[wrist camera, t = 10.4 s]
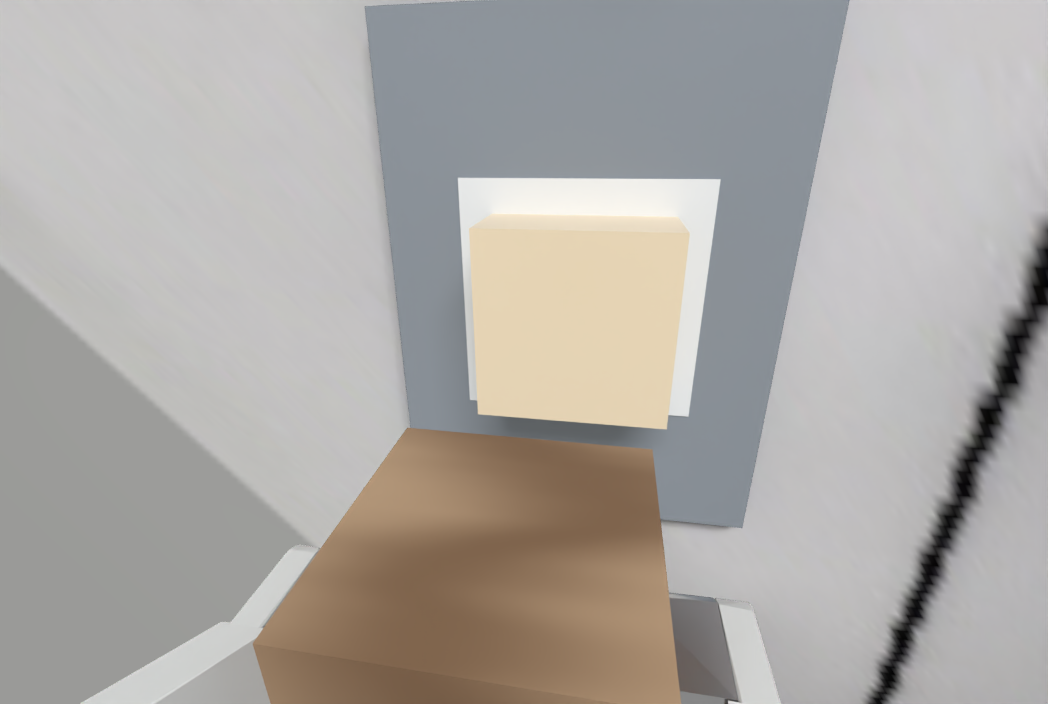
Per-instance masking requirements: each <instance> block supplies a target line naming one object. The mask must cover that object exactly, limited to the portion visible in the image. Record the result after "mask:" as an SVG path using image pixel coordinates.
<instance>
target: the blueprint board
mask: <svg viewBox="0 0 1048 704" xmlns="http://www.w3.org/2000/svg"><path fill="white" fill-rule="evenodd" d="M848 5H849V0H480V1H460V2H440V3H420V4H400V5H380V6H365V13H366V22H367V32H368V41H369V50H370V59H371V68H372V78H373V87H374V96H375V105H376V114H377V124H378V133H379V142H380V151H381V160H382V170H383V179H384V188H385V197H386V206H387V216H388V225H389V234H390V243H391V252H392V262H393V271H394V280H395V289H396V298H397V308H398V317H399V326H400V335H401V344H402V354H403V363H404V372H405V381H406V390H407V400H408V409H409V418H410V427H411V428H417V429H428V430H439V431H451V432H462V433H473V434H485V435H496V436H507V437H519V438H530V439H541V440H552V441H564V442H575V443H586V444H598V445H609V446H620V447H632V448H643V449H653V458H654V467H655V476H656V485H657V494H658V503H659V511H660V519H663V520H672V521H681V522H691V523H700V524H709V525H718V526H728V527H737V528H742V526H743V521H744V516H745V512H746V507H747V502H748V497H749V492H750V487H751V482H752V477H753V472H754V467H755V462H756V457H757V452H758V448H759V443H760V438H761V433H762V428H763V423H764V418H765V413H766V408H767V403H768V398H769V393H770V389H771V384H772V379H773V374H774V369H775V364H776V359H777V354H778V349H779V344H780V339H781V334H782V329H783V325H784V320H785V315H786V310H787V305H788V300H789V295H790V290H791V285H792V280H793V275H794V270H795V265H796V261H797V256H798V251H799V246H800V241H801V236H802V231H803V226H804V221H805V216H806V211H807V206H808V201H809V197H810V192H811V187H812V182H813V177H814V172H815V167H816V162H817V157H818V152H819V147H820V142H821V138H822V133H823V128H824V123H825V118H826V113H827V108H828V103H829V98H830V93H831V88H832V83H833V78H834V74H835V69H836V64H837V59H838V54H839V49H840V44H841V39H842V34H843V29H844V24H845V19H846V14H847V10H848Z"/></svg>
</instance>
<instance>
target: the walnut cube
mask: <svg viewBox="0 0 1048 704" xmlns="http://www.w3.org/2000/svg"><path fill="white" fill-rule="evenodd" d="M253 647H254V650H255V654H256V657H257V660H258V664H259V667H260V670H261V674H262V677H263V680H264V684H265V687H266V690H267V694H268V697H269V700H270V704H681V698H680V689H679V680H678V671H677V662H676V653H675V644H674V636H673V627H672V618H671V609H670V600H669V591H668V582H667V574H666V565H665V556H664V547H663V538H662V529H661V520H660V511H659V503H658V494H657V485H656V476H655V467H654V458H653V449H643V448H632V447H620V446H609V445H598V444H586V443H575V442H564V441H552V440H541V439H530V438H519V437H507V436H496V435H485V434H473V433H462V432H451V431H439V430H428V429H417V428H407V429H406V430H405V432H404V433H403V434H402V436H401V437H400V439H399V440H398V441H397V443H396V444H395V446H394V447H393V448H392V450H391V451H390V453H389V454H388V455H387V457H386V458H385V460H384V461H383V462H382V464H381V465H380V467H379V468H378V469H377V471H376V472H375V474H374V475H373V476H372V478H371V479H370V480H369V482H368V483H367V485H366V486H365V487H364V489H363V490H362V492H361V493H360V494H359V496H358V497H357V499H356V500H355V501H354V503H353V504H352V506H351V507H350V508H349V510H348V511H347V513H346V514H345V515H344V517H343V518H342V519H341V521H340V522H339V524H338V525H337V526H336V528H335V529H334V531H333V532H332V533H331V535H330V536H329V538H328V539H327V540H326V542H325V543H324V545H323V546H322V547H321V549H320V550H319V552H318V553H317V554H316V556H315V557H314V559H313V560H312V561H311V563H310V564H309V565H308V567H307V568H306V570H305V571H304V572H303V574H302V575H301V577H300V578H299V579H298V581H297V582H296V584H295V585H294V586H293V588H292V589H291V591H290V592H289V593H288V595H287V596H286V598H285V599H284V600H283V602H282V603H281V605H280V606H279V607H278V609H277V610H276V611H275V613H274V614H273V616H272V617H271V618H270V620H269V621H268V623H267V624H266V625H265V627H264V628H263V630H262V631H261V632H260V634H259V635H258V637H257V638H256V639H255V641H254V642H253Z"/></svg>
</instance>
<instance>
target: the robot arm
mask: <svg viewBox="0 0 1048 704" xmlns="http://www.w3.org/2000/svg"><path fill="white" fill-rule="evenodd" d="M320 549H321V548H318V547H311V546H304V545H296V546H294V547H293V548H291V549H289V550H288V551H287V552H286V554H285V555H284V556H283V557H282V559H281V560H280V561H279V562H278V564H277V565H276V566H275V567H274V569H273V570H272V571H271V572H270V574H269V575H268V576H267V577H266V579H265V580H264V581H263V582H262V584H261V585H260V586H259V587H258V589H257V590H256V591H255V592H254V594H253V595H252V596H251V598H250V599H249V600H248V601H247V602H246V604H245V605H244V606H243V607H242V609H241V610H240V611H239V613H238V614H237V615H236V616H235V617H234V619H233V620H232V621H231V622H221V623H219V624H217V625H216V626H213V627H212V628H210V629H209V630H207V631H205V632H203V633H201V634H200V635H198V636H196V637H195V638H193V639H191V640H189V641H187V642H186V643H184V644H182V645H181V646H179V647H177V648H175V649H174V650H172V651H170V652H168V653H167V654H165V655H163V656H162V657H160V658H158V659H156V660H155V661H153V662H151V663H149V664H148V665H146V666H144V667H143V668H141V669H139V670H137V671H136V672H134V673H132V674H130V675H129V676H127V677H125V678H124V679H122V680H120V681H118V682H117V683H115V684H113V685H111V686H110V687H108V688H107V689H105V690H103V691H101V692H99V693H98V694H96V695H94V696H93V697H91V698H89V699H87V700H86V701H84V702H82V703H80V704H270V700H269V697H268V694H267V690H266V687H265V684H264V680H263V677H262V674H261V670H260V667H259V664H258V660H257V657H256V654H255V650H254V647H253V642H254V641H255V639H256V638H257V637H258V635H259V634H260V632H261V631H262V630H263V628H264V627H265V625H266V624H267V623H268V621H269V620H270V618H271V617H272V616H273V614H274V613H275V611H276V610H277V609H278V607H279V606H280V605H281V603H282V602H283V600H284V599H285V598H286V596H287V595H288V593H289V592H290V591H291V589H292V588H293V586H294V585H295V584H296V582H297V581H298V579H299V578H300V577H301V575H302V574H303V572H304V571H305V570H306V568H307V567H308V565H309V564H310V563H311V561H312V560H313V559H314V557H315V556H316V554H317V553H318V552H319V550H320ZM669 600H670V609H671V618H672V627H673V636H674V644H675V653H676V662H677V671H678V680H679V689H680V698H681V704H781V701H780V697H779V694H778V691H777V687H776V684H775V680H774V677H773V674H772V670H771V667H770V663H769V660H768V657H767V653H766V650H765V646H764V643H763V640H762V636H761V633H760V629H759V626H758V622H757V619H756V616H755V612H754V609H753V607H752V606H751V605H750V603H749V602H742V601H734V600H725V599H717V598H715V599H713V598H711V597H702V596H694V595H685V594H676V593H669Z"/></svg>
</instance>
